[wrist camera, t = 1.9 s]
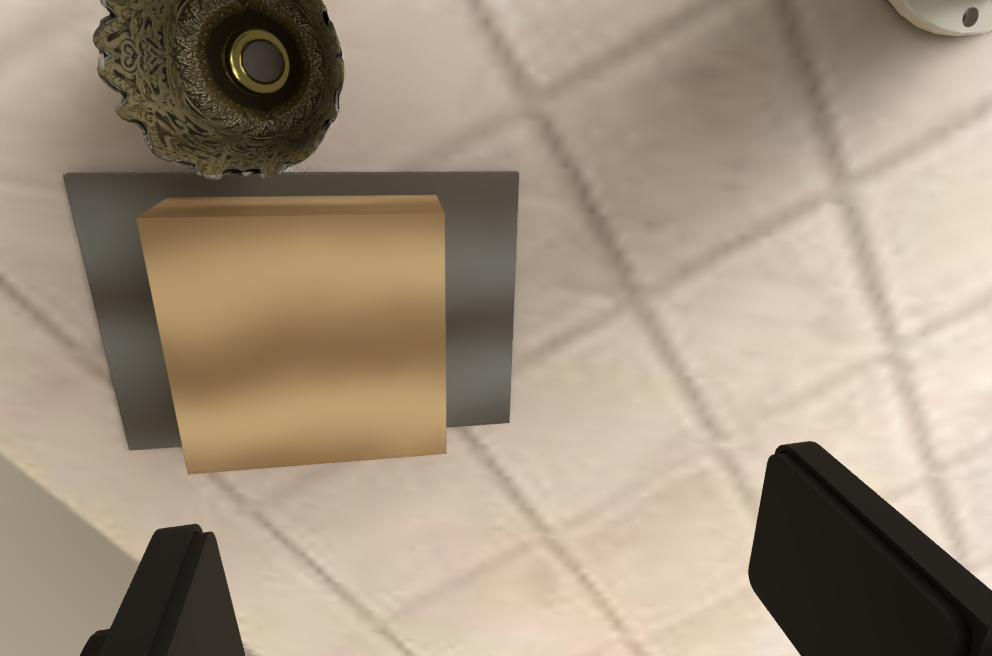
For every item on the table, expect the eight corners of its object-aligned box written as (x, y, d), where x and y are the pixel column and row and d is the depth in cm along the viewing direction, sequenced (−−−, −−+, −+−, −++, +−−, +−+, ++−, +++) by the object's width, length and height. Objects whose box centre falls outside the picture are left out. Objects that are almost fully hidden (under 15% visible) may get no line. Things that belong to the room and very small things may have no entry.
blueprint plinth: (68, 173, 27) (14, 193, 23) (516, 171, 31) (538, 188, 27) (132, 445, 33) (98, 499, 29) (507, 418, 36) (524, 463, 32)
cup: (345, -32, 26) (334, -68, 19) (357, 149, 29) (351, 180, 22) (153, -41, 25) (62, -83, 18) (185, 150, 28) (118, 182, 21)
